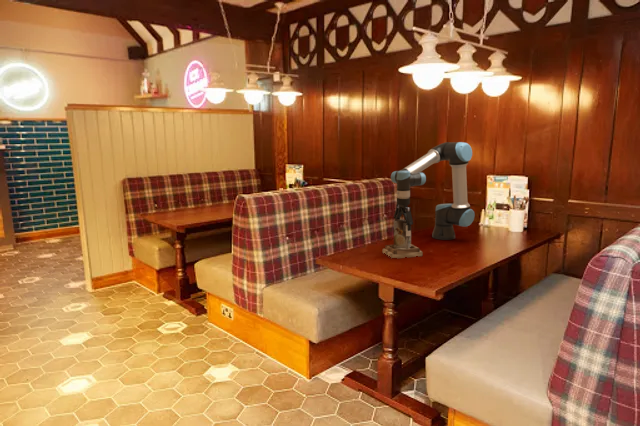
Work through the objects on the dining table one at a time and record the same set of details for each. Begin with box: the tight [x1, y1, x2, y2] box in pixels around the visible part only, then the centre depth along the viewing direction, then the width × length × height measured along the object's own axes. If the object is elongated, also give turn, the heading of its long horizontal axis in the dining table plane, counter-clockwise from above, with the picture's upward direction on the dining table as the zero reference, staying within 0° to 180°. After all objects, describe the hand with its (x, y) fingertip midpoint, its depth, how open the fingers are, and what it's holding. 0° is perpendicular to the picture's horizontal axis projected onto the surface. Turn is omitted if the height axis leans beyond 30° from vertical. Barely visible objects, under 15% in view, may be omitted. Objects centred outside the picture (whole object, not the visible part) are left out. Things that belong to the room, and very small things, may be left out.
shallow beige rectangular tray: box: [382, 243, 424, 259], centre depth 256 cm, size 14×19×4 cm
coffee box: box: [393, 218, 412, 249], centre depth 254 cm, size 9×6×16 cm
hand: (403, 233), depth 254 cm, fingers open, 13 cm apart
